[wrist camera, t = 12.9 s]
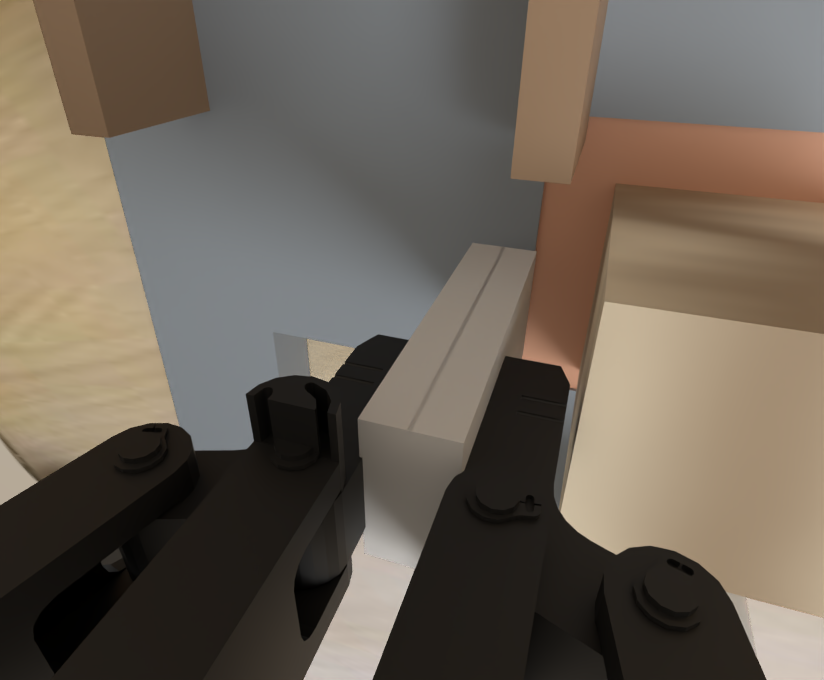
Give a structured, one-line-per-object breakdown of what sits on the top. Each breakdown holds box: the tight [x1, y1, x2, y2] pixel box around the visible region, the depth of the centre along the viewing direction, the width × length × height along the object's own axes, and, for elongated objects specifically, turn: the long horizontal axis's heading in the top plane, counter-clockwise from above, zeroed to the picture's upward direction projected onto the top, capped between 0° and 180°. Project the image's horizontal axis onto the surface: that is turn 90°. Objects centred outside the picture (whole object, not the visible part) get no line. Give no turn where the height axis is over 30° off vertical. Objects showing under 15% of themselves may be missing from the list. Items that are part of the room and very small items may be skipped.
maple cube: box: [559, 183, 824, 618], centre depth 11 cm, size 5×5×6 cm
